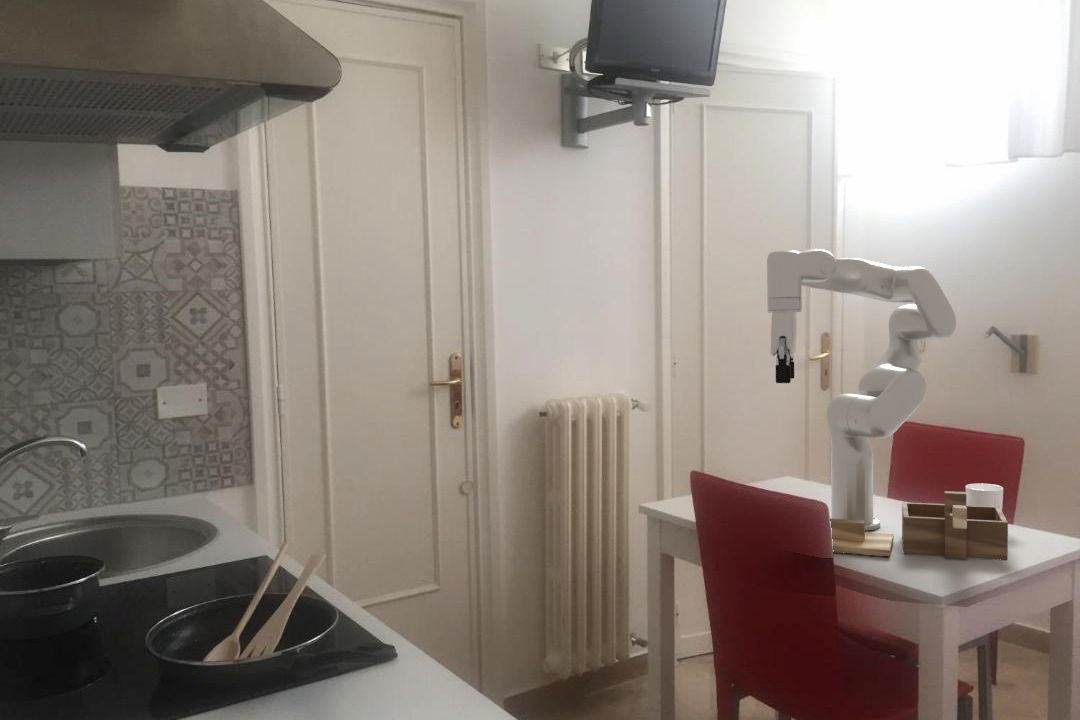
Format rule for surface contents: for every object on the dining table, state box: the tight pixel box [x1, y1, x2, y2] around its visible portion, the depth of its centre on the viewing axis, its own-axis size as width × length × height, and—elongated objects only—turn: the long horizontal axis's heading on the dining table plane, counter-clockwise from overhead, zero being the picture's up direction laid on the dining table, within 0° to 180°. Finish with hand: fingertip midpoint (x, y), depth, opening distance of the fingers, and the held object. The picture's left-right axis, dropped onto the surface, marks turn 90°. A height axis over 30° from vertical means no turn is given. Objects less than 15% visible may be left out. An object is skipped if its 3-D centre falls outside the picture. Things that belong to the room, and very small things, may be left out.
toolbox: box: [901, 490, 1009, 562], centre depth 200 cm, size 16×20×14 cm
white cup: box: [965, 482, 1004, 511], centre depth 216 cm, size 8×8×10 cm
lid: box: [830, 518, 894, 557], centre depth 206 cm, size 13×19×6 cm
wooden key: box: [952, 505, 967, 529], centre depth 186 cm, size 9×2×4 cm, turn 160°
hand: (785, 380), depth 212 cm, fingers open, 9 cm apart
